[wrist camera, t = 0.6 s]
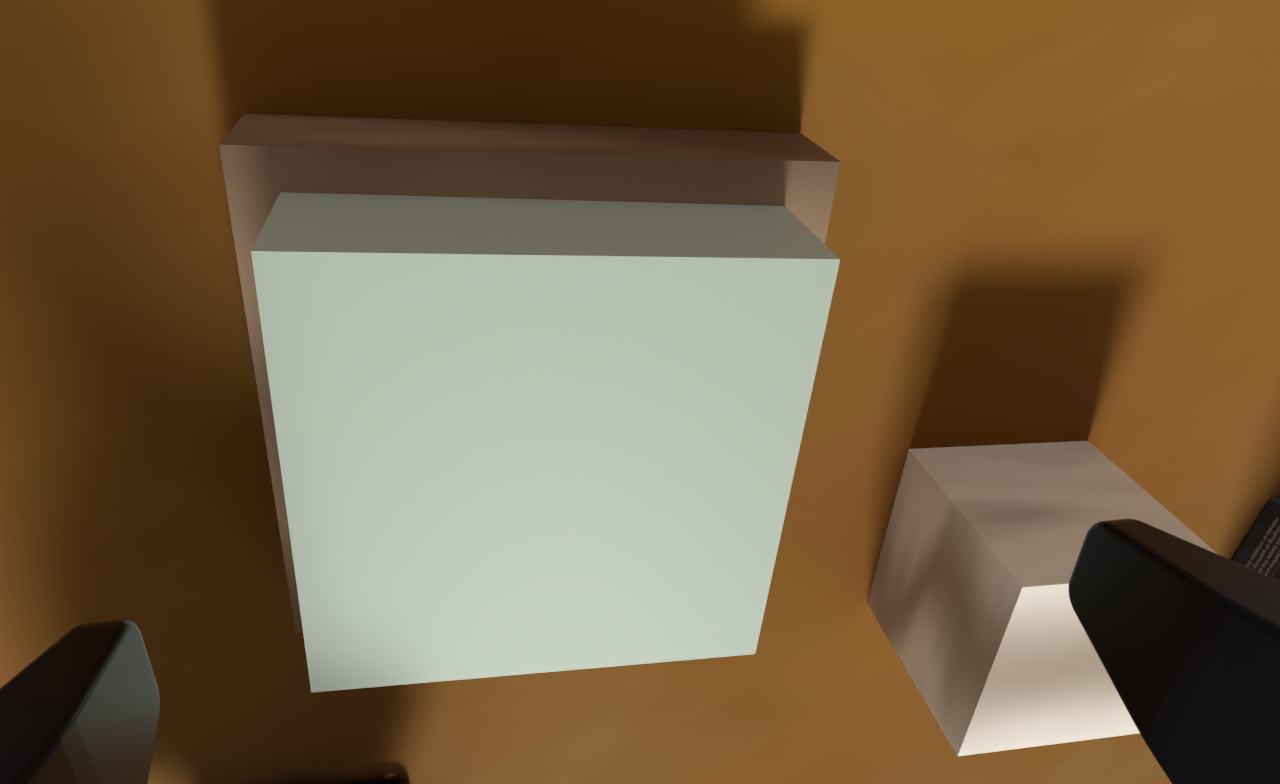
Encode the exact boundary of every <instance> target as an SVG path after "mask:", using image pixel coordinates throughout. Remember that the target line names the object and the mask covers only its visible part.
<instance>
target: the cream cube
mask: <svg viewBox="0 0 1280 784" xmlns="http://www.w3.org/2000/svg"><path fill="white" fill-rule="evenodd" d="M1119 519H1135V520H1139V521H1142V522H1144V523H1146V524H1149V525H1151V526H1153V527H1156V528H1158V529H1160V530H1163V531H1165V532H1167V533H1169V534H1172V535H1174V536H1176V537H1179V538H1181V539H1183V540H1186V541H1188V542H1190V543H1193V544H1195V545H1197V546H1200V547H1202V548H1204V549H1206V550H1209V551H1211V552H1213V553H1216V552H1215V551H1214V550H1213V549H1212V548H1211V547H1209V546H1208V545H1207V544H1206V543H1205V542H1204V541H1202V540H1201V539H1200V538H1199V537H1198V536H1197V535H1196V534H1194V533H1193V532H1192V531H1191V530H1190V529H1189V528H1188V527H1186V526H1185V525H1184V524H1183V523H1182V522H1181V521H1179V520H1178V519H1177V518H1176V517H1175V516H1174V515H1173V514H1171V513H1170V512H1169V511H1168V510H1167V509H1166V508H1165V507H1163V506H1162V505H1161V504H1160V503H1159V502H1158V501H1156V500H1155V499H1154V498H1153V497H1152V496H1151V495H1150V494H1148V493H1147V492H1146V491H1145V490H1144V489H1143V488H1141V487H1140V486H1139V485H1138V484H1137V483H1136V482H1135V481H1133V480H1132V479H1131V478H1130V477H1129V476H1128V475H1127V474H1125V473H1124V472H1123V471H1122V470H1121V469H1120V468H1118V467H1117V466H1116V465H1115V464H1114V463H1113V462H1112V461H1110V460H1109V459H1108V458H1107V457H1106V456H1105V455H1104V454H1102V453H1101V452H1100V451H1099V450H1098V449H1097V448H1095V447H1094V446H1093V445H1092V444H1091V443H1090V442H1089V441H1071V442H1049V443H1028V444H1006V445H984V446H963V447H941V448H919V449H909V450H908V454H907V457H906V461H905V465H904V468H903V472H902V476H901V480H900V483H899V487H898V491H897V494H896V498H895V502H894V505H893V509H892V513H891V516H890V520H889V524H888V527H887V531H886V535H885V538H884V542H883V546H882V549H881V553H880V557H879V560H878V564H877V568H876V571H875V575H874V579H873V582H872V586H871V590H870V593H869V597H868V601H867V604H868V605H869V607H870V609H871V610H872V612H873V614H874V615H875V617H876V619H877V621H878V622H879V624H880V626H881V627H882V629H883V631H884V632H885V634H886V636H887V638H888V639H889V641H890V643H891V644H892V646H893V648H894V649H895V651H896V653H897V655H898V656H899V658H900V660H901V661H902V663H903V665H904V666H905V668H906V670H907V672H908V673H909V675H910V677H911V678H912V680H913V682H914V683H915V685H916V687H917V689H918V690H919V692H920V694H921V695H922V697H923V699H924V700H925V702H926V704H927V705H928V707H929V709H930V711H931V712H932V714H933V716H934V717H935V719H936V721H937V722H938V724H939V726H940V728H941V729H942V731H943V733H944V734H945V736H946V738H947V739H948V741H949V743H950V745H951V746H952V748H953V750H954V751H955V753H956V755H957V756H964V755H972V754H980V753H988V752H996V751H1004V750H1012V749H1019V748H1027V747H1035V746H1043V745H1051V744H1059V743H1067V742H1075V741H1083V740H1090V739H1098V738H1106V737H1114V736H1122V735H1130V734H1138V733H1140V732H1139V730H1138V729H1137V727H1136V725H1135V723H1134V722H1133V720H1132V718H1131V716H1130V714H1129V712H1128V711H1127V709H1126V707H1125V705H1124V703H1123V701H1122V699H1121V697H1120V696H1119V694H1118V692H1117V690H1116V688H1115V686H1114V684H1113V683H1112V681H1111V679H1110V677H1109V675H1108V673H1107V671H1106V669H1105V668H1104V666H1103V664H1102V662H1101V660H1100V658H1099V656H1098V654H1097V653H1096V651H1095V649H1094V647H1093V645H1092V643H1091V641H1090V639H1089V638H1088V636H1087V634H1086V632H1085V630H1084V628H1083V626H1082V625H1081V623H1080V621H1079V619H1078V617H1077V615H1076V613H1075V611H1074V610H1073V607H1072V605H1071V602H1070V598H1069V591H1068V589H1069V581H1070V578H1071V575H1072V572H1073V569H1074V567H1075V564H1076V561H1077V559H1078V556H1079V553H1080V550H1081V548H1082V545H1083V542H1084V539H1085V537H1086V534H1087V532H1088V530H1089V529H1090V528H1091V527H1092V526H1093V525H1094V524H1095V523H1098V522H1101V521H1109V520H1119ZM1216 554H1217V553H1216ZM1218 555H1219V554H1218Z"/></svg>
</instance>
